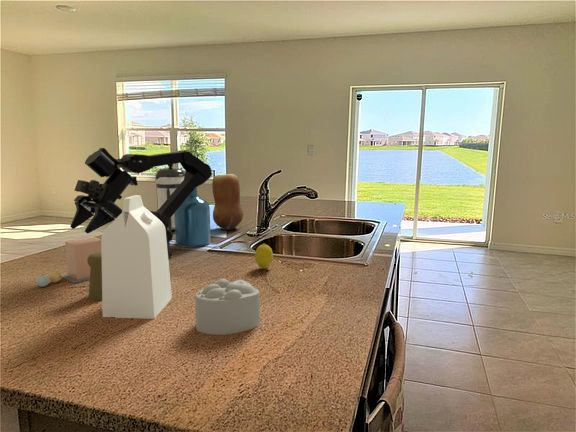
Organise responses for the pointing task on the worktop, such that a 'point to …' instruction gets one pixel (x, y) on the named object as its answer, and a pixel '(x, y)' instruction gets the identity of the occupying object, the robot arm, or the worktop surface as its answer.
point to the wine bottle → (192, 222)
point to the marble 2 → (55, 277)
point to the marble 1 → (42, 281)
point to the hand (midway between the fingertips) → (78, 230)
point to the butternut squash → (227, 201)
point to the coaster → (74, 279)
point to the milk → (135, 264)
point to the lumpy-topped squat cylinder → (227, 307)
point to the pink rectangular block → (81, 256)
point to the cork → (95, 276)
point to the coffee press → (168, 187)
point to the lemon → (263, 256)
